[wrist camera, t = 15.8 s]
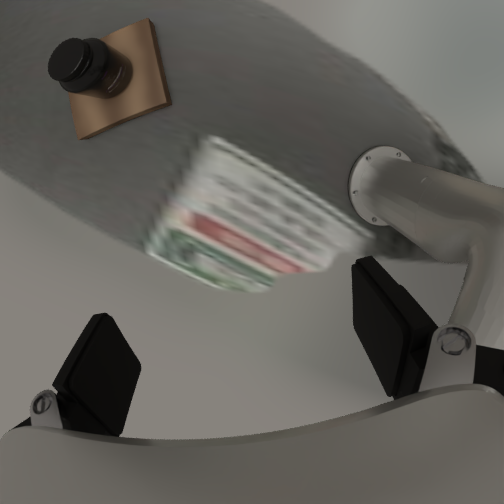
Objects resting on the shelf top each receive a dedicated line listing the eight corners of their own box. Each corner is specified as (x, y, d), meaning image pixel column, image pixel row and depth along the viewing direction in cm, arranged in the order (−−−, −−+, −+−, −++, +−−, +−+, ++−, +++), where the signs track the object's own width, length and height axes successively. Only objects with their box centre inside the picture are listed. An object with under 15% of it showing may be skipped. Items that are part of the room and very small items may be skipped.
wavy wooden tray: (153, 24, 27) (148, 17, 24) (171, 104, 32) (166, 102, 30) (73, 62, 27) (63, 59, 24) (88, 138, 33) (78, 140, 30)
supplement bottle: (134, 93, 29) (90, 79, 18) (91, 104, 28) (38, 100, 17) (135, 48, 26) (95, 20, 15) (91, 61, 26) (42, 43, 15)
